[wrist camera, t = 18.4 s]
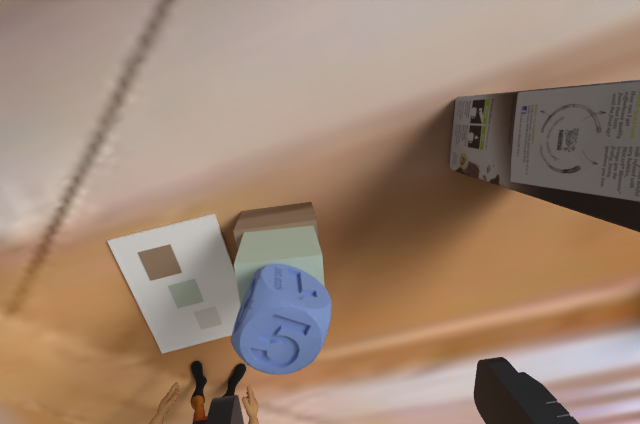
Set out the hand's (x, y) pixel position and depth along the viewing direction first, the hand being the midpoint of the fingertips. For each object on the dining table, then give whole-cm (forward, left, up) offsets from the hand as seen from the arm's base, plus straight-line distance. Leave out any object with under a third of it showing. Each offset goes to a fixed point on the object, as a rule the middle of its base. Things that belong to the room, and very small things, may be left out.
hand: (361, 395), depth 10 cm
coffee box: (-6, +17, -18) cm, 26 cm away
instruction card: (+5, -12, -18) cm, 22 cm away
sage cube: (+1, -3, -13) cm, 14 cm away
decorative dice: (+1, -3, -9) cm, 9 cm away
